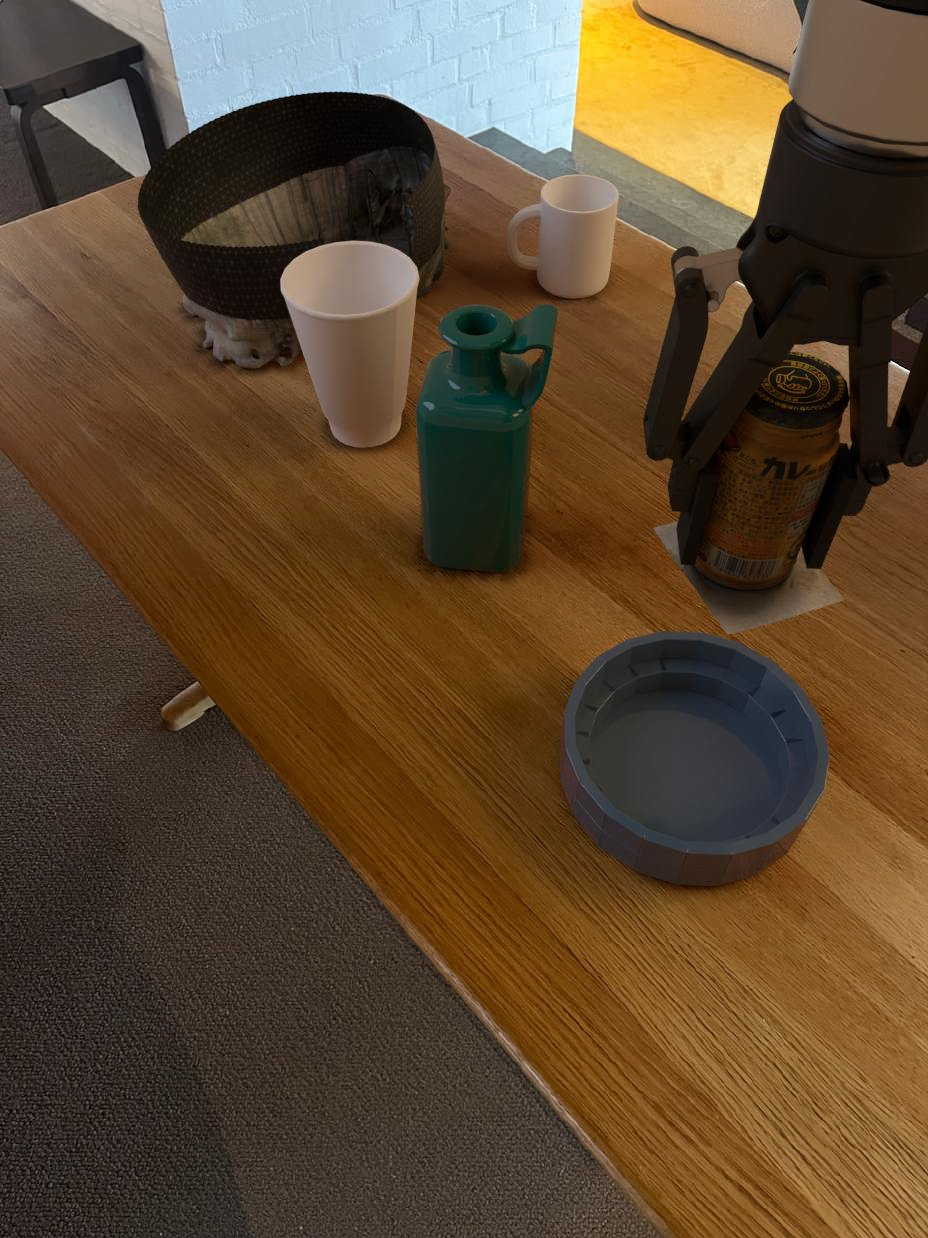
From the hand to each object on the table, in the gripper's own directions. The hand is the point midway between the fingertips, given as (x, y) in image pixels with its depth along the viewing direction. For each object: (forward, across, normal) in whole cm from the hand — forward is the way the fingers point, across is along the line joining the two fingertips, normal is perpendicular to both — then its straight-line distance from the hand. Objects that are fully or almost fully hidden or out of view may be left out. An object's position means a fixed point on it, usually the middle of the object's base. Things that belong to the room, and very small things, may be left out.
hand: (747, 548), depth 53 cm
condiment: (+2, 0, 0) cm, 2 cm away
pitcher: (+22, +15, -22) cm, 35 cm away
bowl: (+22, 0, +1) cm, 22 cm away
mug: (+22, +8, -63) cm, 67 cm away
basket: (+22, +34, -58) cm, 71 cm away
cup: (+22, +27, -36) cm, 51 cm away
